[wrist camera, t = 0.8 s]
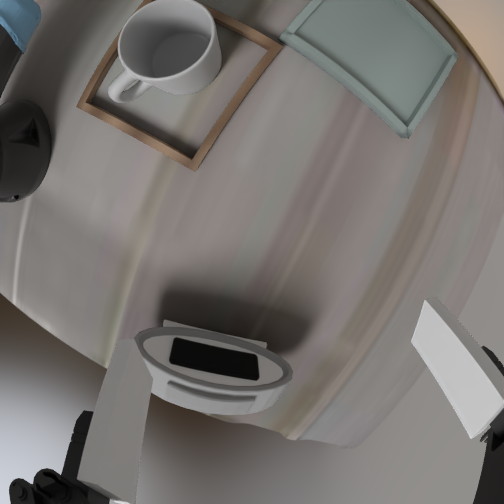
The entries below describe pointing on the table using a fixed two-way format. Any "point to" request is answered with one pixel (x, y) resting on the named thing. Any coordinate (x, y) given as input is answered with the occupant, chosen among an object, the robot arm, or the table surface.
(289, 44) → the tray
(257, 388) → the alarm clock
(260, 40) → the frame
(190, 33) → the mug
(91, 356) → the table surface
